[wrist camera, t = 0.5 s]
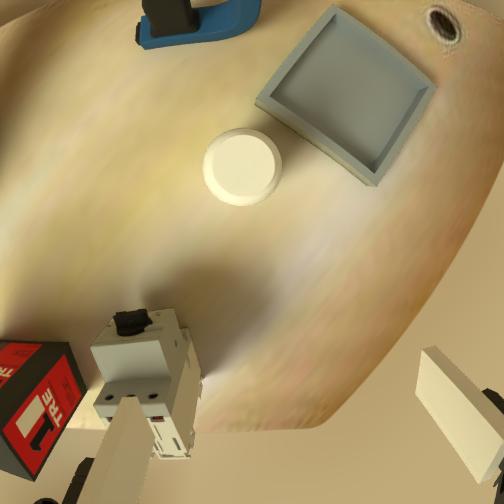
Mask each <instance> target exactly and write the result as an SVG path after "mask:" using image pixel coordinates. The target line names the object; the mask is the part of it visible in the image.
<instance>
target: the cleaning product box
mask: <svg viewBox="0 0 504 504" xmlns="http://www.w3.org/2000/svg"><path fill="white" fill-rule="evenodd" d="M86 393H87V389H86V386H85V384H84V382H83V379H82V377H81V374H80V372H79V369H78V367H77V364H76V361H75V359H74V356H73V353H72V351H71V348H70V345H69V342H33V341H10V340H0V470H3V471H5V472H8V473H10V474H13V475H16V476H18V477H21V478H24V479H27V480H30V481H33V482H35V480H36V478H37V476H38V475H39V473H40V471H41V469H42V467H43V466H44V464H45V462H46V460H47V458H48V457H49V455H50V453H51V451H52V450H53V448H54V446H55V444H56V443H57V441H58V439H59V437H60V436H61V434H62V432H63V431H64V429H65V427H66V426H67V424H68V422H69V420H70V419H71V417H72V415H73V414H74V412H75V411H76V409H77V407H78V406H79V404H80V402H81V401H82V399H83V397H84V396H85V394H86Z"/></svg>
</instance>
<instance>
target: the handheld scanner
mask: <svg viewBox="0 0 504 504" xmlns="http://www.w3.org/2000/svg"><path fill="white" fill-rule="evenodd" d="M261 1H262V0H229V1H227V2H225V3H222V4H219V5H215V6H209V7H199V8H191V3H190V0H142V7H143V10H144V12H145V14H146V15H145V16H142V17H141V22H138V24H137V26H136V39H135V41H136V42H137V44H138V45H141V46H142V47H143V48H144V49H145V50H148V49H154V48H160V47H167V46H174V45H182V44H191V43H201V42H212V41H218V40H223V39H227V38H230V37H234V36H236V35H239V34H242V33H243V32H245V31H247V30H249V29H250V28H251V27H252V26H253V25H254V24H255V23H256V21H257V19H258V16H259V13H260V8H261Z"/></svg>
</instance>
